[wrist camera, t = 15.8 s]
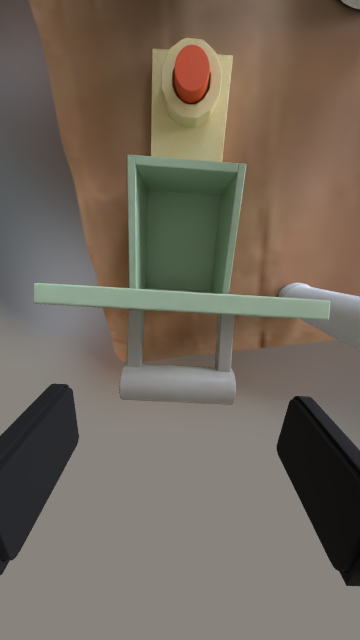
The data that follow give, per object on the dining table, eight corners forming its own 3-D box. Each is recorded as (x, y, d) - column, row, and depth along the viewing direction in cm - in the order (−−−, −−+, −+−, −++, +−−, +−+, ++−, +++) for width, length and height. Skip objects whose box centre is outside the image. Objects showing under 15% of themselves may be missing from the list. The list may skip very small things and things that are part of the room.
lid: (32, 282, 8) (30, 420, 8) (331, 300, 8) (319, 432, 8) (128, 300, 23) (126, 346, 23) (227, 306, 23) (224, 351, 24)
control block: (154, 62, 24) (150, 30, 20) (229, 69, 24) (237, 38, 20) (152, 162, 27) (148, 149, 23) (219, 167, 27) (224, 155, 24)
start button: (175, 59, 21) (175, 42, 20) (209, 62, 21) (211, 45, 20) (173, 102, 22) (173, 90, 21) (205, 105, 22) (208, 93, 21)
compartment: (142, 185, 27) (126, 154, 19) (226, 191, 28) (246, 163, 19) (142, 290, 32) (129, 302, 23) (214, 295, 32) (226, 308, 24)
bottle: (304, 313, 33) (625, 457, 9) (273, 313, 33) (517, 457, 9) (310, 281, 32) (715, 359, 8) (278, 281, 32) (587, 359, 8)
